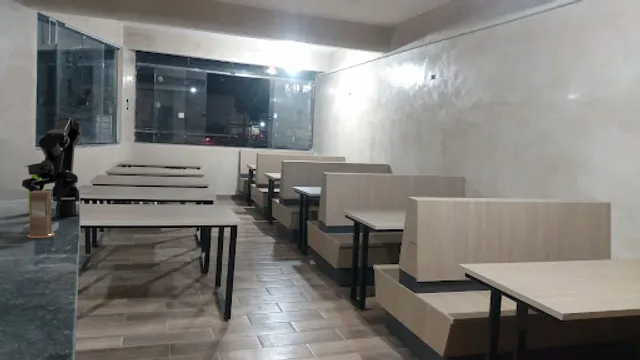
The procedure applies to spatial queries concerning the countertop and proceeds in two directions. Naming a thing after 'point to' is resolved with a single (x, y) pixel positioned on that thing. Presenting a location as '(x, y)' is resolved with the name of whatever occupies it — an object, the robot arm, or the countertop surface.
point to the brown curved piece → (41, 236)
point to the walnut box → (40, 213)
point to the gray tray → (27, 227)
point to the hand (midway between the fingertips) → (46, 203)
